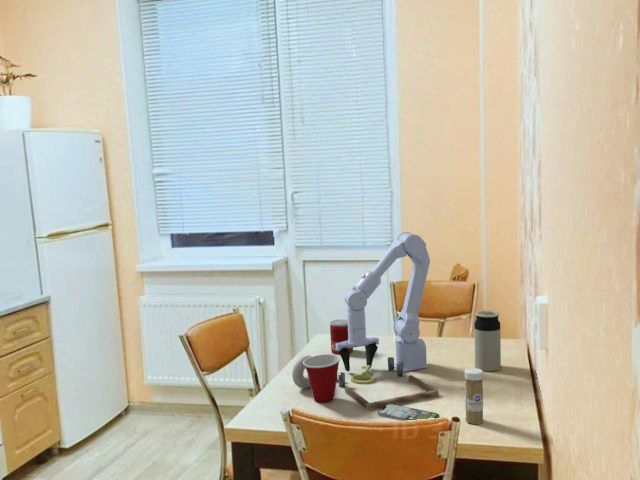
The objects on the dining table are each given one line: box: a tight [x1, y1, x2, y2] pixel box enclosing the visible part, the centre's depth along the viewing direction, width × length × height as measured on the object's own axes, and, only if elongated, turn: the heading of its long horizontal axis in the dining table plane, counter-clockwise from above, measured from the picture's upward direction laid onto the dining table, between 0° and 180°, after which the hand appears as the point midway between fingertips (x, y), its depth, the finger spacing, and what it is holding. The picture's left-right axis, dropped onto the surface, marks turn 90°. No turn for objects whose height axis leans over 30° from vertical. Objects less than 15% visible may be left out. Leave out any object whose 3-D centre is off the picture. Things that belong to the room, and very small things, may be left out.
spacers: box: [337, 356, 404, 388], centre depth 191 cm, size 22×8×4 cm, turn 111°
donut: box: [291, 354, 313, 389], centre depth 185 cm, size 10×4×10 cm, turn 135°
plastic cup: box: [303, 353, 341, 404], centre depth 175 cm, size 11×11×12 cm
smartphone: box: [377, 404, 440, 421], centre depth 162 cm, size 7×1×15 cm
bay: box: [344, 374, 439, 411], centre depth 177 cm, size 22×15×2 cm
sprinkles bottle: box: [464, 367, 484, 425], centre depth 155 cm, size 5×5×14 cm
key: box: [350, 365, 375, 385], centre depth 192 cm, size 7×12×2 cm, turn 1°
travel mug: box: [473, 310, 502, 372], centre depth 195 cm, size 8×8×18 cm
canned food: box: [329, 319, 354, 356], centre depth 219 cm, size 8×8×11 cm
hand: (358, 368), depth 198 cm, fingers open, 7 cm apart
